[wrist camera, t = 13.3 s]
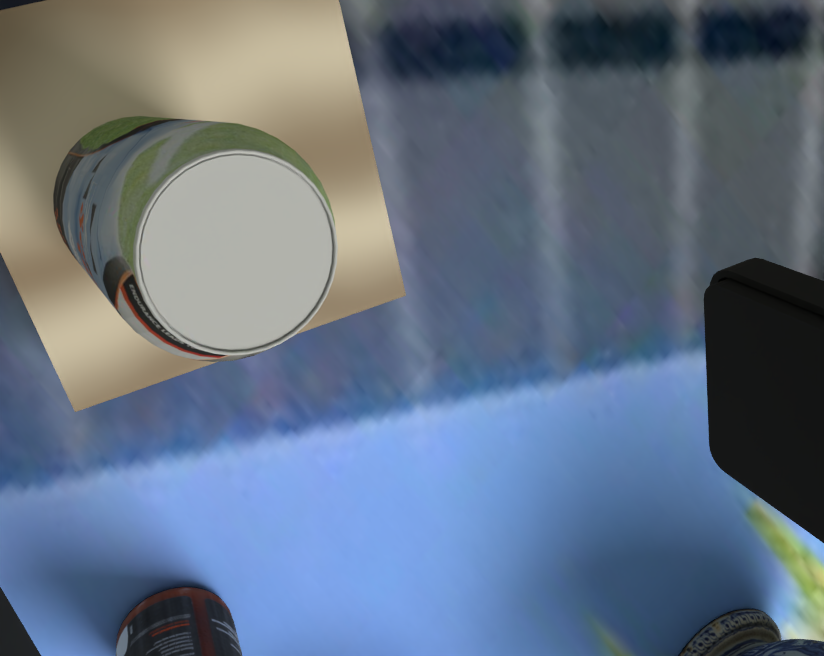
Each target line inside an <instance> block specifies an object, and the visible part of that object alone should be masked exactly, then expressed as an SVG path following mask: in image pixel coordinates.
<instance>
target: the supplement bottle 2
mask: <svg viewBox="0 0 824 656" xmlns="http://www.w3.org/2000/svg"><path fill="white" fill-rule="evenodd" d="M116 656H242V652H241V649H240V645H239V641H238V637H237V633H236V629H235V625H234V621H233V619H232V616H231V613H230V610H229V609H228V607H227V606H226V604H225V603H224V601H222V600H221V598H219V597H218V596H217V595H215V594H213V593H211V592H209V591H206V590H203V589H199V588H191V587H180V588H173V589H169V590H166V591H163V592H160V593H157V594H155V595H153V596H151V597H149V598H147V599H145V600H144V601H143V602H141V603H140V604H138V605H137V606H136V607H135V608H134V609H133V610H132V611H131V612H130V613H129V614H128V615H127V617H126V619H125V620H124V621H123V623H122V625H121V627H120V630H119V632H118V636H117V642H116Z"/></svg>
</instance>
